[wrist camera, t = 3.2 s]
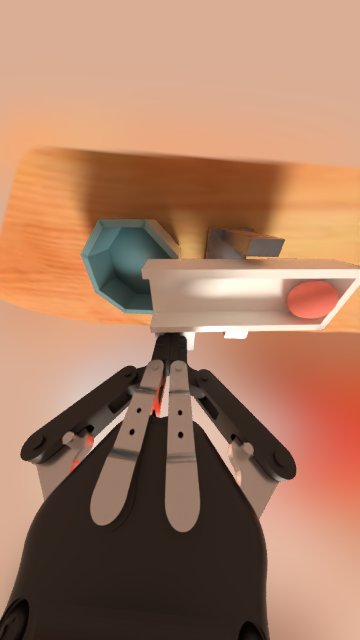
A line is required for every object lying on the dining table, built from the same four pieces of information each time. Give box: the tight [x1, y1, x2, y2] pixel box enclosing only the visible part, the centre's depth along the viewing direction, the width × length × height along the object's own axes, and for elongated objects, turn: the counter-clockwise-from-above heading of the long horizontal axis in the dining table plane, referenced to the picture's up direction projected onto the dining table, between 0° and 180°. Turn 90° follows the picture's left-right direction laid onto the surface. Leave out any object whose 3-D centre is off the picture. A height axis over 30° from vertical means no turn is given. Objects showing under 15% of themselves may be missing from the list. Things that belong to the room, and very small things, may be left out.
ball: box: [286, 281, 338, 319], centre depth 11 cm, size 3×3×3 cm
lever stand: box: [205, 228, 285, 338], centre depth 15 cm, size 5×9×10 cm, turn 179°
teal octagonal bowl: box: [81, 219, 181, 314], centre depth 18 cm, size 10×10×6 cm
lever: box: [141, 258, 360, 350], centre depth 14 cm, size 15×9×6 cm, turn 90°
